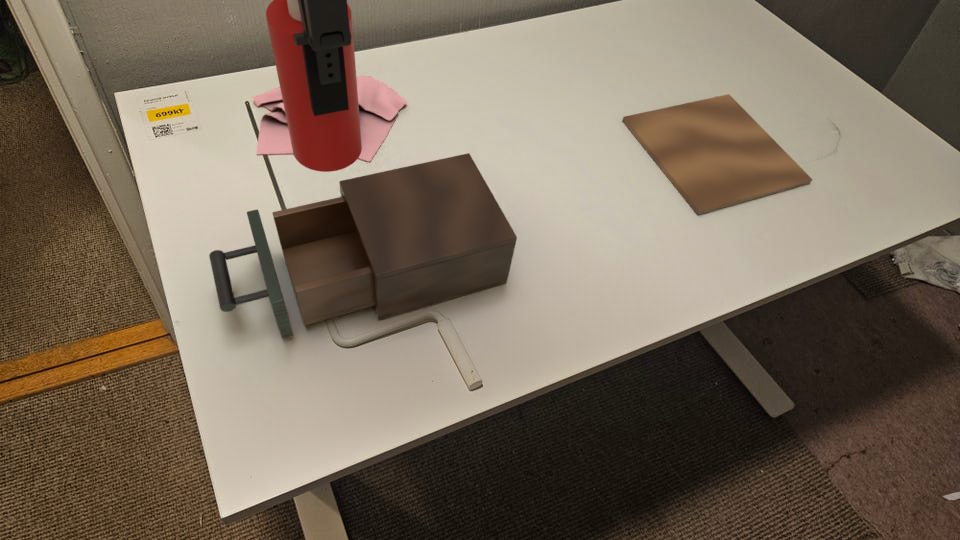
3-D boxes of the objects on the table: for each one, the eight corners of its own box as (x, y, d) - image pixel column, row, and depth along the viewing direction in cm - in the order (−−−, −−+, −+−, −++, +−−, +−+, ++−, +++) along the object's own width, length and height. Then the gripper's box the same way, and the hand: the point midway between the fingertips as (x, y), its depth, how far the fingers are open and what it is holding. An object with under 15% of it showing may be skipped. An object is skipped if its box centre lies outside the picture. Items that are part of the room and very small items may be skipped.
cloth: (424, 99, 90) (424, 85, 88) (343, 192, 78) (342, 178, 76) (307, 54, 94) (305, 40, 92) (212, 136, 81) (207, 121, 80)
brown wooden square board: (809, 183, 88) (812, 179, 87) (697, 215, 82) (700, 211, 81) (727, 98, 98) (729, 93, 97) (622, 120, 92) (623, 116, 91)
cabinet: (378, 321, 67) (375, 275, 60) (345, 231, 74) (339, 180, 67) (506, 283, 72) (517, 237, 65) (463, 202, 79) (469, 152, 72)
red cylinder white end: (370, 163, 54) (360, 2, 42) (302, 178, 52) (270, 14, 40) (350, 120, 57) (335, -41, 45) (285, 133, 55) (252, -32, 43)
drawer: (234, 353, 62) (218, 318, 57) (215, 261, 69) (198, 221, 63) (414, 301, 68) (414, 265, 63) (380, 221, 74) (378, 182, 69)
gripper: (161, -353, 34) (247, 25, 53) (221, -245, 24) (301, 174, 43) (295, -347, 36) (333, 13, 55) (400, -246, 27) (403, 151, 45)
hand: (319, 83), depth 49 cm, fingers closed on red cylinder white end, 6 cm apart
